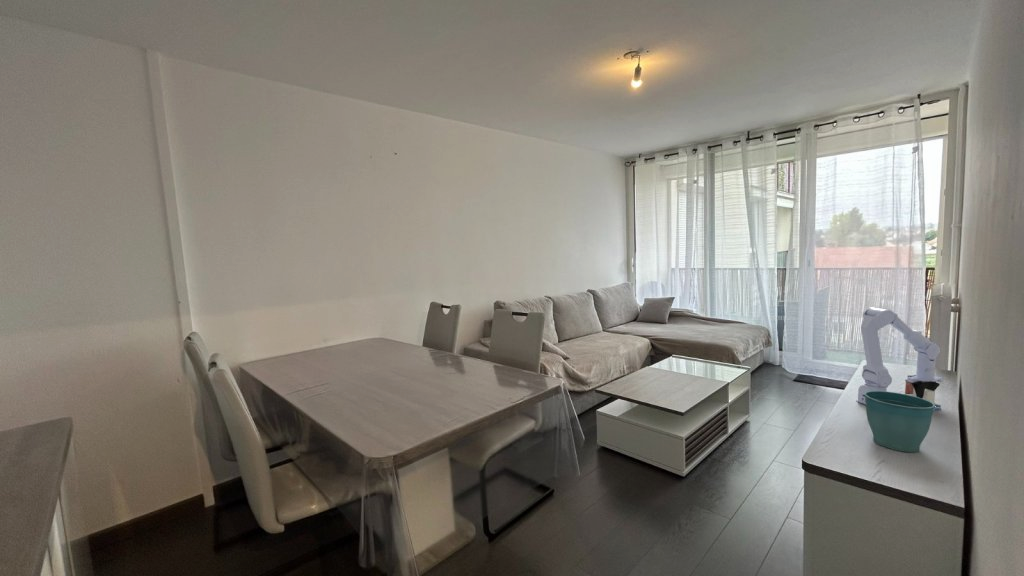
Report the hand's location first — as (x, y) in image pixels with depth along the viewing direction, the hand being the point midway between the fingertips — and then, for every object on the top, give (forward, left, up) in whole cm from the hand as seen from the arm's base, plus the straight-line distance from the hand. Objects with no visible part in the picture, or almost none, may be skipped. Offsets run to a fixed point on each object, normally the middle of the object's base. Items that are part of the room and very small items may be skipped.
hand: (923, 397), depth 182 cm
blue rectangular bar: (-1, -5, -4) cm, 6 cm away
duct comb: (-3, +1, -4) cm, 5 cm away
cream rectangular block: (0, 0, -3) cm, 3 cm away
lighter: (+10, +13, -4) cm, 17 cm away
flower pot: (-51, -36, -4) cm, 63 cm away
